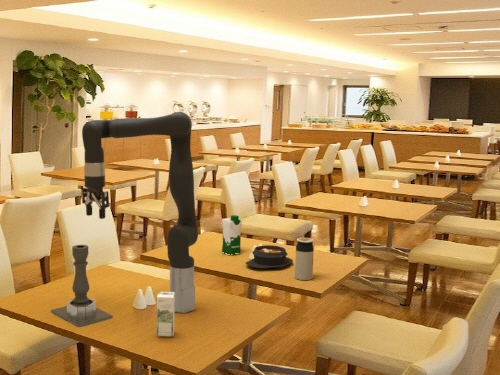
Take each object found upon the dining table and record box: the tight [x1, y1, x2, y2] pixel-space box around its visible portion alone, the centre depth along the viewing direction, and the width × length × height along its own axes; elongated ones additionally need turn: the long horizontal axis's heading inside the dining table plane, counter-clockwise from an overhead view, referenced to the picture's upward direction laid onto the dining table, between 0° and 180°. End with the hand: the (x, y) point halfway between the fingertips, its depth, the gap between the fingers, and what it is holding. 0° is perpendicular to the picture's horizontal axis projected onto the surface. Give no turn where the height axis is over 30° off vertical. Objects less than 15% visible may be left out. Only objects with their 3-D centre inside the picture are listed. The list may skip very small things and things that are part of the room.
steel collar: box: [50, 297, 114, 328], centre depth 235 cm, size 20×14×5 cm
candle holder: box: [71, 244, 90, 306], centre depth 234 cm, size 6×6×25 cm
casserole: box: [245, 244, 294, 269], centre depth 306 cm, size 25×19×8 cm
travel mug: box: [294, 237, 315, 281], centre depth 287 cm, size 8×8×18 cm
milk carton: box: [221, 215, 243, 255], centre depth 326 cm, size 9×9×20 cm
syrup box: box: [156, 291, 175, 338], centre depth 218 cm, size 6×6×14 cm
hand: (95, 216), depth 239 cm, fingers open, 8 cm apart
